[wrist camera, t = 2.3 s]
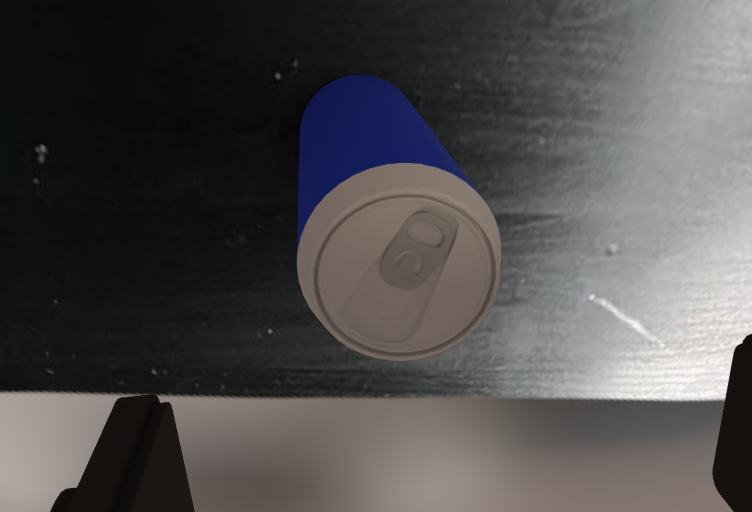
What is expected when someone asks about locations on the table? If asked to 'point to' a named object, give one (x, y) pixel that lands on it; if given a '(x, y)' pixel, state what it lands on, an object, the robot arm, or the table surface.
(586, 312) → the table surface
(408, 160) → the beverage can
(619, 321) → the table surface
